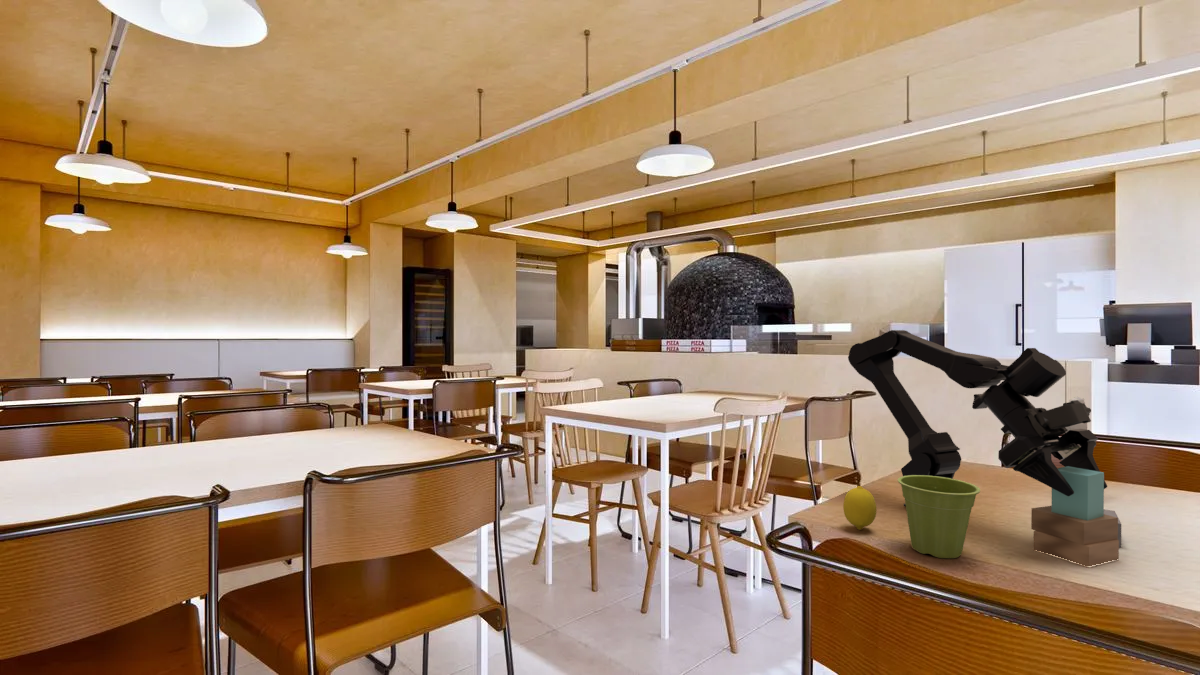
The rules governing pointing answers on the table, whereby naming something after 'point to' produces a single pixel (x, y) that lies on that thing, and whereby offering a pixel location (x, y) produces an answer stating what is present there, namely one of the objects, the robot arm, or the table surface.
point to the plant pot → (938, 513)
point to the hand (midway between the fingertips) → (1088, 491)
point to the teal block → (1080, 494)
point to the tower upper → (1074, 526)
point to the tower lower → (1077, 549)
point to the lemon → (859, 507)
